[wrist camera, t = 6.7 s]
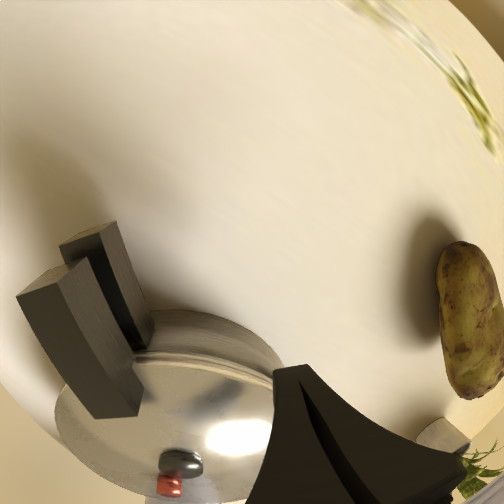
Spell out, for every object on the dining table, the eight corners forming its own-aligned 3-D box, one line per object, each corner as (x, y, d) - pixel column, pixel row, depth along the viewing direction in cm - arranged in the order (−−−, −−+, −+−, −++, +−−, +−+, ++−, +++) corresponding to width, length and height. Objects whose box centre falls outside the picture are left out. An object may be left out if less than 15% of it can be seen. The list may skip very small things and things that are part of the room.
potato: (487, 227, 19) (554, 256, 11) (460, 348, 23) (505, 392, 15) (423, 236, 18) (505, 276, 10) (399, 373, 22) (443, 432, 14)
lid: (321, 474, 18) (329, 498, 15) (138, 498, 17) (136, 520, 15) (256, 203, 11) (269, 217, 8) (-27, 300, 10) (-53, 322, 8)
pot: (301, 431, 23) (314, 473, 18) (141, 455, 22) (136, 494, 17) (244, 180, 16) (256, 189, 11) (17, 254, 15) (-26, 281, 10)
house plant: (487, 388, 28) (544, 451, 12) (434, 450, 31) (475, 514, 16) (441, 391, 25) (514, 484, 9) (377, 463, 28) (419, 550, 13)
